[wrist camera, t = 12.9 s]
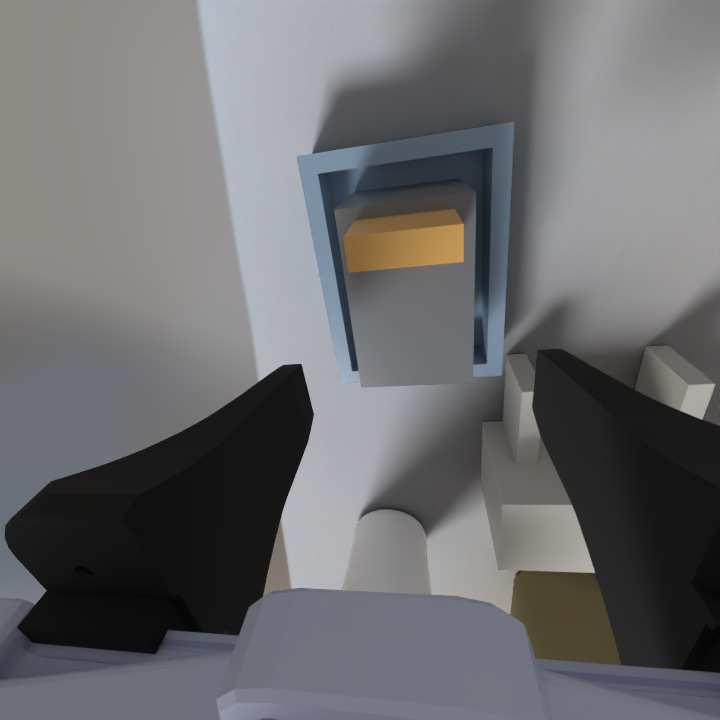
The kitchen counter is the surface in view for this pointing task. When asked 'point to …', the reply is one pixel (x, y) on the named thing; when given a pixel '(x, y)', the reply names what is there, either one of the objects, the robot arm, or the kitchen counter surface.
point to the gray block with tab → (411, 281)
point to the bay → (538, 475)
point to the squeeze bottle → (564, 616)
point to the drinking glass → (388, 555)
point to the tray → (406, 167)
